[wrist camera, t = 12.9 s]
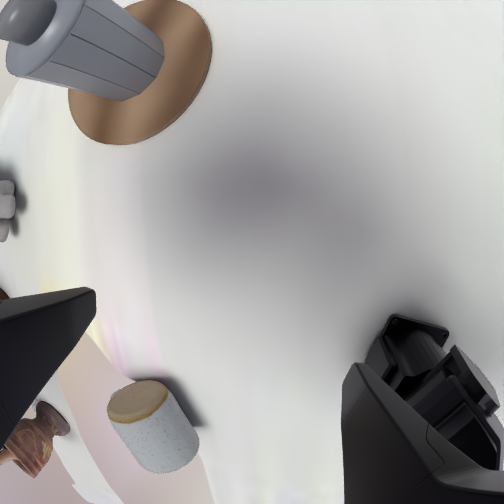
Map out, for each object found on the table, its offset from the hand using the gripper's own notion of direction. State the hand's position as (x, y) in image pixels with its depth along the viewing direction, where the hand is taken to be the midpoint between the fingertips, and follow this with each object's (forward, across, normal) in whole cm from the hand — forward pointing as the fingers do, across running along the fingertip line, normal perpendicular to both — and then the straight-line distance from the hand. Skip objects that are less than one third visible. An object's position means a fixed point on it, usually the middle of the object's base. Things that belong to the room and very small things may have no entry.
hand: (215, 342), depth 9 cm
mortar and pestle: (+14, +28, +41) cm, 51 cm away
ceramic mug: (+13, +7, +21) cm, 26 cm away
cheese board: (+15, +13, -12) cm, 23 cm away
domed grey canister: (+13, +14, -12) cm, 22 cm away
